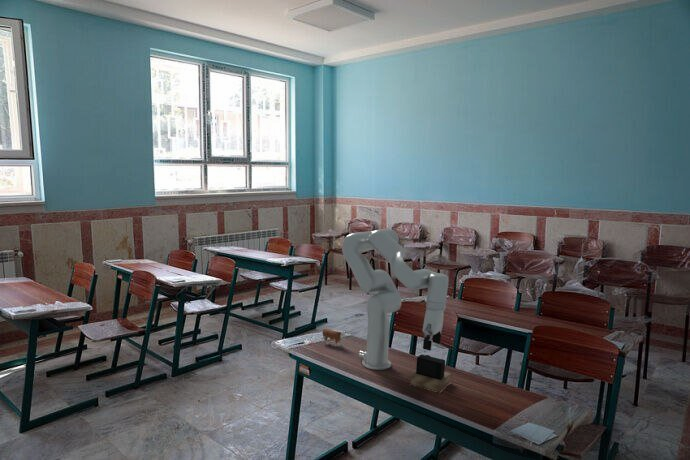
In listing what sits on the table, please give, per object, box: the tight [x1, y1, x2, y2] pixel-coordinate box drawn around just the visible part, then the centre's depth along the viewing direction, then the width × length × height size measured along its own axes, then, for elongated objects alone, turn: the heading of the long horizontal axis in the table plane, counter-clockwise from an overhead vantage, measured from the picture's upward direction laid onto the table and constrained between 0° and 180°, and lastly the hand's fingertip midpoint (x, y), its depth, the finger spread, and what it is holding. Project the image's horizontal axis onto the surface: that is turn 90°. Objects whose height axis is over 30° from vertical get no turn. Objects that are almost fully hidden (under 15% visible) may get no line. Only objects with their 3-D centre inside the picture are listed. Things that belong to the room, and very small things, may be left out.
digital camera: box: [415, 354, 446, 380], centre depth 195 cm, size 10×5×7 cm, turn 59°
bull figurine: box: [322, 328, 347, 348], centre depth 236 cm, size 4×13×8 cm, turn 57°
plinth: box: [409, 371, 452, 392], centre depth 196 cm, size 13×13×4 cm
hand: (431, 346), depth 195 cm, fingers open, 9 cm apart
